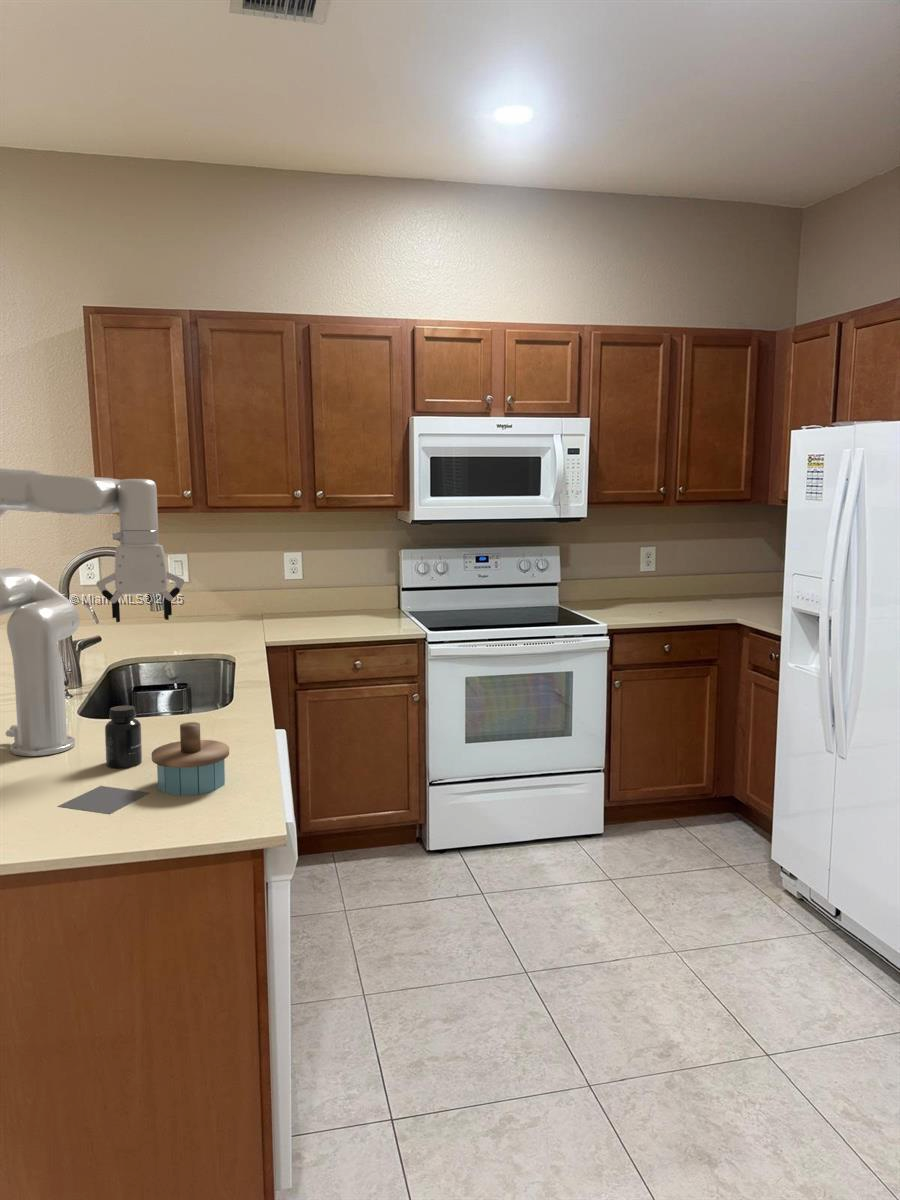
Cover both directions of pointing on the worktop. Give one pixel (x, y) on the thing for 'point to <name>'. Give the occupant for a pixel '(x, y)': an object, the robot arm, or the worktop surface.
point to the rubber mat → (104, 799)
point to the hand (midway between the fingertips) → (142, 620)
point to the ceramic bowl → (191, 779)
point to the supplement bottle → (123, 738)
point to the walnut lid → (190, 750)
